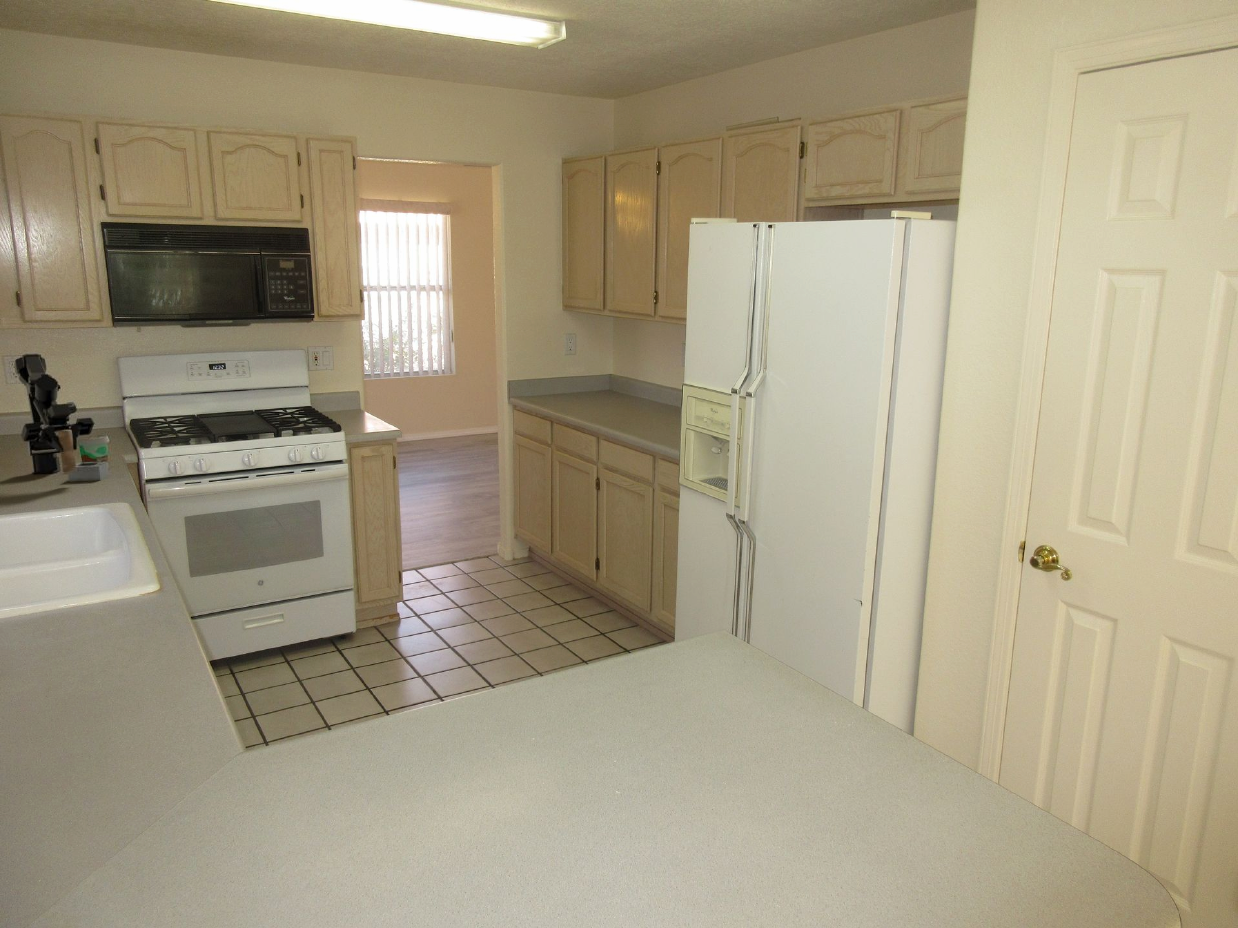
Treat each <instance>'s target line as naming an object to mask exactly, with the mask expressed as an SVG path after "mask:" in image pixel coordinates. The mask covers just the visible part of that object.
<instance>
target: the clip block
mask: <svg viewBox="0 0 1238 928" xmlns="http://www.w3.org/2000/svg"><path fill="white" fill-rule="evenodd" d="M75 464H76V471H73V472H67V478H68V482H71V483H72V482H87V481H88V482H91V481H102V480H104V479H105V478H107V477H109V476H111V473H110V471H111V470H110V463H109V461H105V462H82V461H80V462H75Z"/></svg>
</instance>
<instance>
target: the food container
mask: <svg viewBox="0 0 1238 928" xmlns="http://www.w3.org/2000/svg"><path fill="white" fill-rule="evenodd" d="M109 442H110V439H109V437H108V435H107V434H98V435H97V437H88V438H78V439H77V446H78V448H79V452H80V457H81V462H105V461H108V453H109V452H108V443H109ZM108 462H109V461H108Z"/></svg>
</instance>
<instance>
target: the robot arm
mask: <svg viewBox="0 0 1238 928" xmlns="http://www.w3.org/2000/svg"><path fill="white" fill-rule="evenodd" d="M13 366H14V367H13V368H14V372H15V374H16V375H17V376H18V380H19V382H20V383H22V384H23V385H24V387H25V388H26V395H27V400H28V405H29V410H30V416H31V421H32V422H27V423H26V422H25V423H24V425H23V427H22V431H21V438H22V440H23V442H25V443H26V442H27V454H28V456H29V457H31V459H32V466H33V471H32V472H31V474H32V475H34V474H35V475H37V474H54V473H57V472H59V471H61V469H62V467H61V464H60V463H61V462H60V458H59V456H58V454H61V452H62V451H63V448H62V446H61V444H60V442H59V435H58V431H60V430H72V438H73V447H74V451H77V449H78V439H77V438H78V437H79V436H87V435H90V434H92V431H93V428H94V425H95V422H94V420H93V418H91V417H90V416H89V417H81V418H76V421H75V423H71V422H70V419H71V418H70V416H71V415H72V414H75V413H76V412H77V411H78V409H77V405H76V404H75V402H74V401H70V402H69V401H68V402H67V403H61V404H60V403H59V404H58V402H57V401H56V400H57V398H58V392H59V391H60V390H61V385H60V384H59V382H58V380H57V379H55V377H52V375H50V374H48V373H47V363H46V359H45V358H44V357H42V355H41V354H39V353H25V354H22V355H21V357H18V358H17V359H15V360H14V365H13ZM68 422H69V423H68ZM56 433H57V434H56Z"/></svg>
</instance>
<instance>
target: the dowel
mask: <svg viewBox="0 0 1238 928" xmlns="http://www.w3.org/2000/svg"><path fill="white" fill-rule="evenodd" d="M57 435H58V437H59V442H60V444H61V446H62V448H63V451H62V452H60V459H61V469H62V472H63V473H68V472H73V471H76V458H75V450H74V447H73V438H72V430H60V431H58V432H57Z"/></svg>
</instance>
